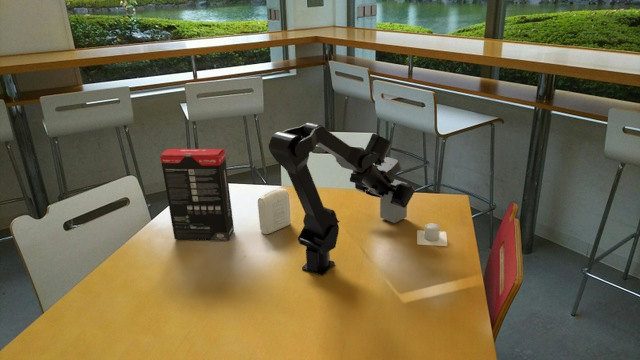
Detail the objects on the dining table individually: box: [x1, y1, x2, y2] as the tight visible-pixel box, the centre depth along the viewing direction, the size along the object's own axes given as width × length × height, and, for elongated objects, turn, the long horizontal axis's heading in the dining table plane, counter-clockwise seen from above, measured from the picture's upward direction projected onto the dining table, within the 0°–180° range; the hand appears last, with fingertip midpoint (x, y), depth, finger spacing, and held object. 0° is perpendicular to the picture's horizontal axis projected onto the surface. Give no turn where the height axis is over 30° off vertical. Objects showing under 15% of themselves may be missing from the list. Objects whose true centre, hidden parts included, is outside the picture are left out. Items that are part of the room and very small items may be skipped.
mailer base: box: [416, 222, 448, 247], centre depth 133 cm, size 8×8×5 cm
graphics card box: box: [159, 148, 235, 242], centre depth 138 cm, size 17×7×27 cm, turn 84°
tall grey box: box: [379, 179, 409, 224], centre depth 143 cm, size 6×6×11 cm
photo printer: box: [257, 188, 292, 235], centre depth 144 cm, size 10×4×12 cm, turn 134°
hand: (396, 200), depth 143 cm, fingers closed on tall grey box, 6 cm apart
